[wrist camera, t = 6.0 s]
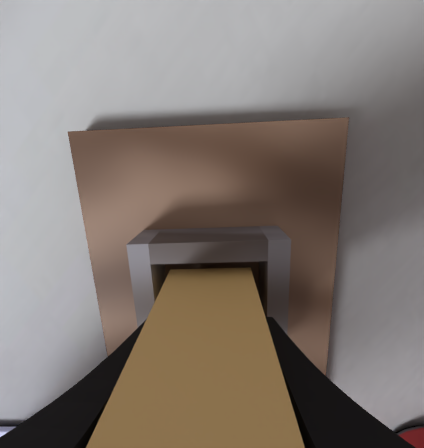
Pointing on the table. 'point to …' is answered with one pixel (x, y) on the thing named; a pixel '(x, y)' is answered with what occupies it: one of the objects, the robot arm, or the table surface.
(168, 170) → the socket board
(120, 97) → the table surface
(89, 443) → the peg
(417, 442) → the beer can
